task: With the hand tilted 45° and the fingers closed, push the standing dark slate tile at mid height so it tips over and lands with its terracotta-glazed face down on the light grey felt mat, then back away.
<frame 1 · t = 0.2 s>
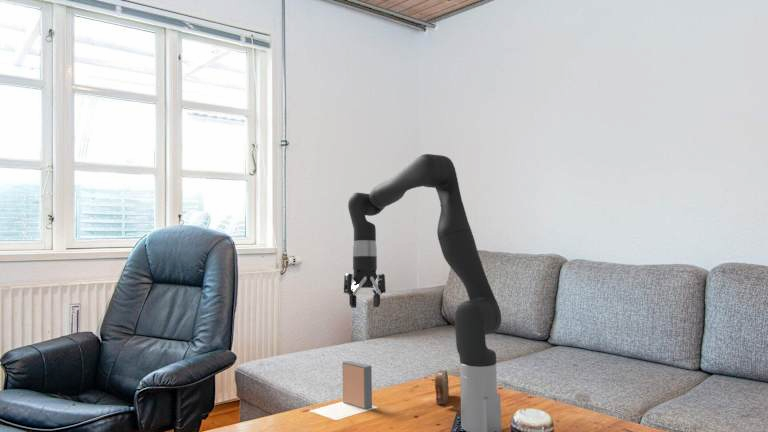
hand: (365, 307, 174), 28 cm above the table, tool pointing down, fingers open, 8 cm apart
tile: (357, 405, 163), point 1 cm above the table, touching mat
mat: (344, 411, 160), on the table
tin: (442, 401, 169), on the table
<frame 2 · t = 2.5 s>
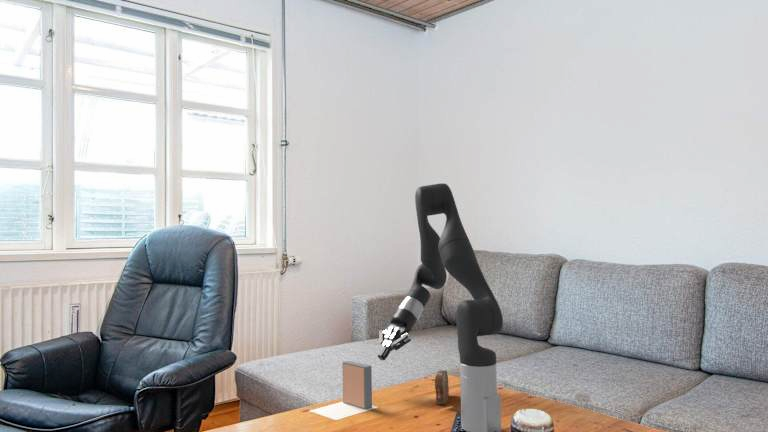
hand: (380, 358, 171), 13 cm above the table, tool tilted 45°, fingers closed
nothing on the table moved.
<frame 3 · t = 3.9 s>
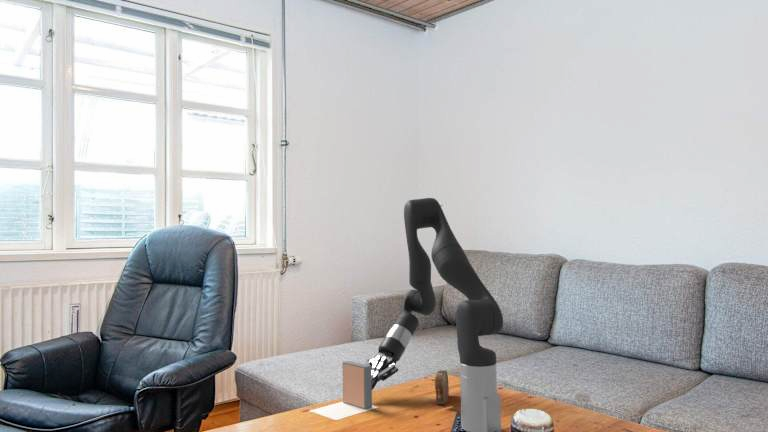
hand: (367, 389, 166), 4 cm above the table, tool tilted 45°, fingers closed
nothing on the table moved.
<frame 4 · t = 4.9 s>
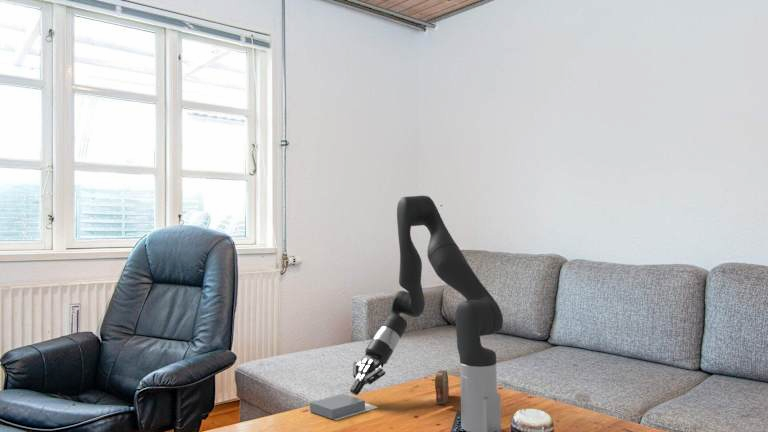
hand: (353, 393, 163), 4 cm above the table, tool tilted 45°, fingers closed
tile: (353, 401, 162), point 2 cm above the table, tilted 90°, touching mat
everything else where it was.
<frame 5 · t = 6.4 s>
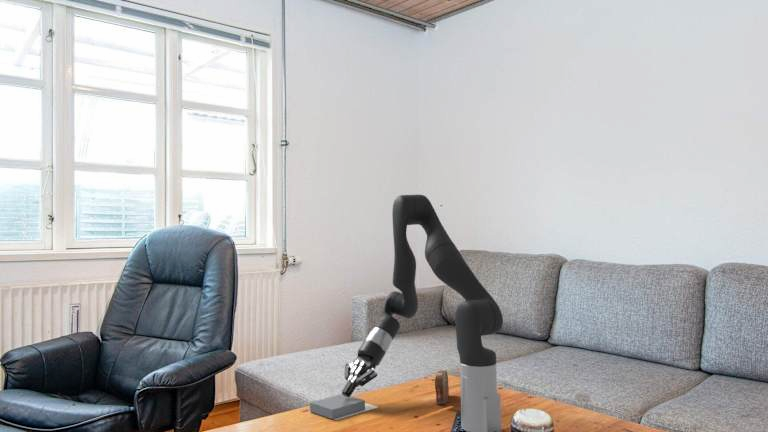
hand: (345, 395, 160), 4 cm above the table, tool tilted 45°, fingers closed
nothing on the table moved.
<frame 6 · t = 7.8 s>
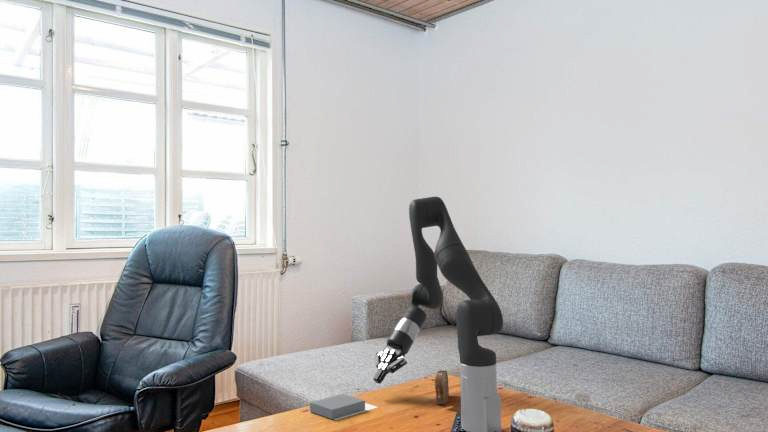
hand: (376, 381, 169), 6 cm above the table, tool tilted 45°, fingers closed
nothing on the table moved.
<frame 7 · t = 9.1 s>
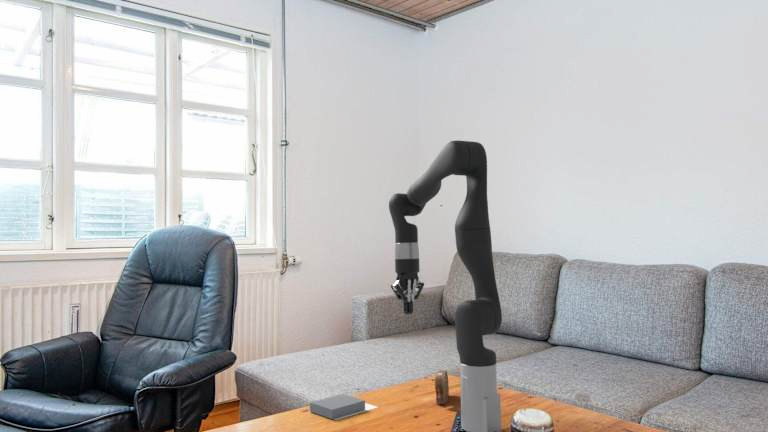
hand: (408, 313, 171), 26 cm above the table, tool pointing down, fingers closed
nothing on the table moved.
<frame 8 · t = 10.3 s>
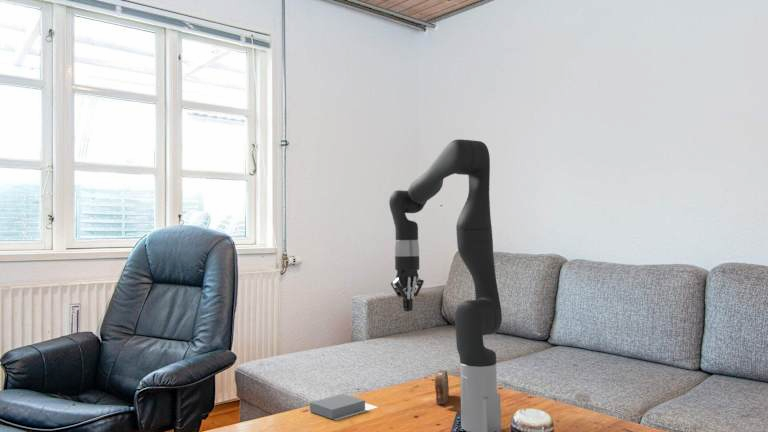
hand: (408, 311, 171), 27 cm above the table, tool pointing down, fingers closed
nothing on the table moved.
at the end: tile tilted 90°; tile inside the target area (4.6 cm from its centre), point 2.0 cm above the table; the gripper is holding nothing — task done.
